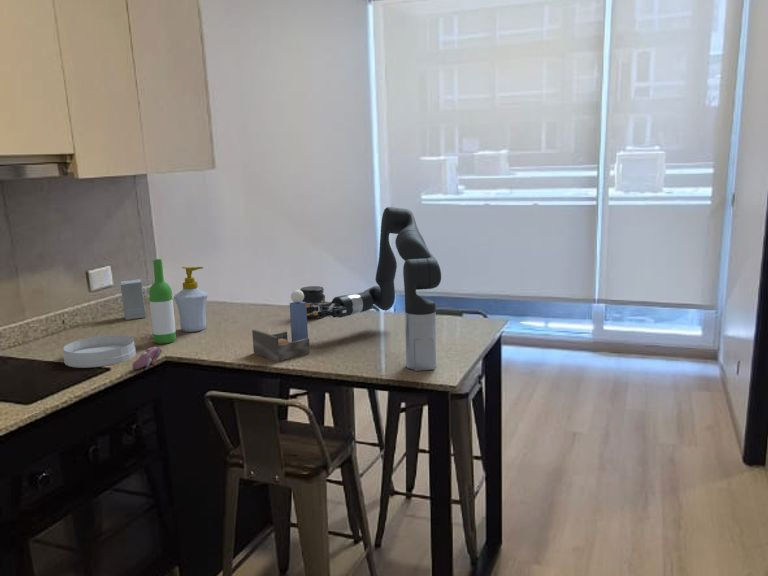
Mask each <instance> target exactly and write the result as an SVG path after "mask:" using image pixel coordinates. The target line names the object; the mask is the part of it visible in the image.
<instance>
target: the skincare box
mask: <svg viewBox="0 0 768 576" xmlns="http://www.w3.org/2000/svg"><path fill="white" fill-rule="evenodd" d="M119 283H120V291H121V299H122V305H123V313H124V317H125V321H128V320H136V319H143V318H146V317H147V316H146V309H145V308H146V307H145V301H144V293H143V283H142V280H141V279H133V280H123V281H120V282H119Z"/></svg>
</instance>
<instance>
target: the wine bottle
mask: <svg viewBox="0 0 768 576" xmlns="http://www.w3.org/2000/svg"><path fill="white" fill-rule="evenodd" d="M152 260H153V261H152V262H153V273H154V283H152V285H151V286H150V287H149V291H148V295H149V305H150V306H149V308H150V316H151V328H152V330H151V331H152V337H153V342H154V343H155V344H158V345H165V344H170V343H173V342H175V341H176V339H177V335H176V333H177V332H176V322H175V321H176V320H175V312H174V300H173V299H174V298H173V292H172V289H171V286H170V285H169V284H168V283H167V282H166V281H165V280H164V269H163V267H164V266H163V260H162V259H161V258H158V259H157V258H156V259H152Z"/></svg>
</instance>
